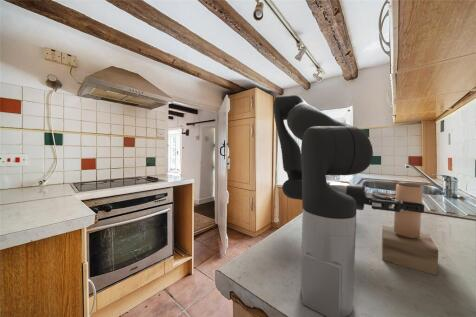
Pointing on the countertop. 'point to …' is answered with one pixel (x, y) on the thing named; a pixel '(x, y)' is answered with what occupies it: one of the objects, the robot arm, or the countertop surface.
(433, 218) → the countertop surface
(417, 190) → the canister
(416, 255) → the pedestal
